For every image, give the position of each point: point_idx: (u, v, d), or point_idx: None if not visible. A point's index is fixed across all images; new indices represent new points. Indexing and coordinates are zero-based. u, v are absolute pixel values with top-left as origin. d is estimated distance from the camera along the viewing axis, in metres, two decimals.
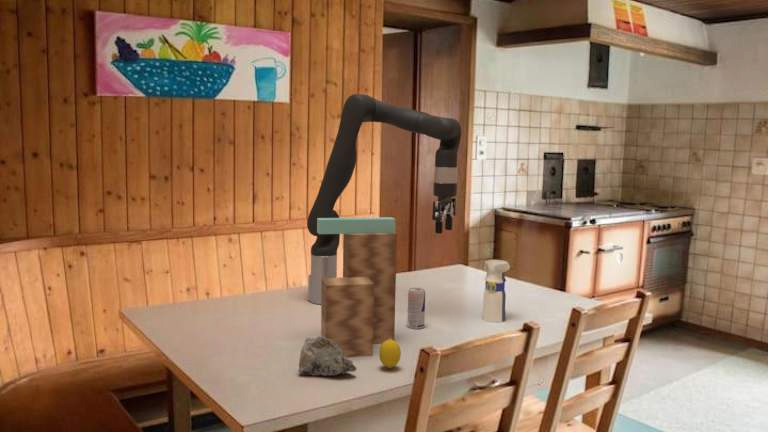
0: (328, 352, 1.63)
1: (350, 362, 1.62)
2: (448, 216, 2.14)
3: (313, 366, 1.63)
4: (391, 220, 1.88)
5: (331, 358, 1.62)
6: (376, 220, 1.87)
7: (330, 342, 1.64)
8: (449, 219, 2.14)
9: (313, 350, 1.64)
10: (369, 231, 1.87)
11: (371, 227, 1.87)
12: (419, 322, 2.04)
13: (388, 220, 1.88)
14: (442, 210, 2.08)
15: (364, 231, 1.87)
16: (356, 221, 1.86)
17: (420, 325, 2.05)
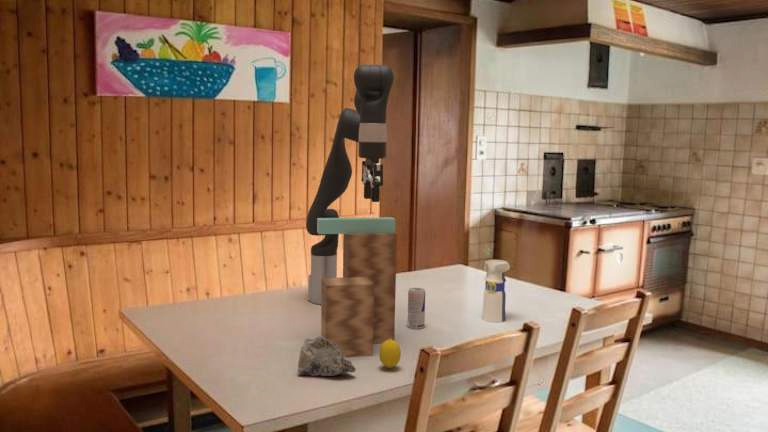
0: (327, 353, 1.63)
1: (349, 363, 1.62)
2: None
3: (312, 366, 1.63)
4: (391, 220, 1.88)
5: (330, 358, 1.62)
6: (376, 220, 1.87)
7: (329, 342, 1.64)
8: None
9: (313, 350, 1.63)
10: (369, 231, 1.87)
11: (371, 227, 1.87)
12: (419, 322, 2.04)
13: (388, 220, 1.88)
14: None
15: (364, 231, 1.87)
16: (356, 221, 1.86)
17: (420, 325, 2.05)
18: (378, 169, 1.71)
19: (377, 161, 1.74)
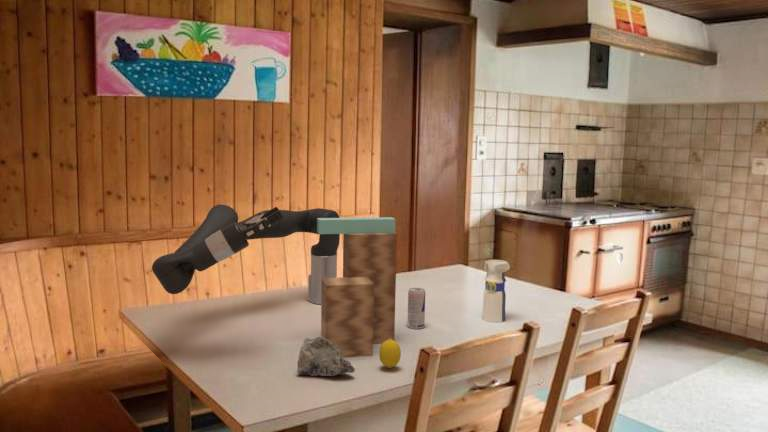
0: (326, 353, 1.63)
1: (348, 363, 1.61)
2: None
3: (311, 366, 1.63)
4: (391, 220, 1.88)
5: (329, 359, 1.62)
6: (376, 220, 1.87)
7: (329, 343, 1.63)
8: None
9: (312, 350, 1.63)
10: (369, 231, 1.87)
11: (371, 227, 1.87)
12: (419, 322, 2.04)
13: (388, 220, 1.88)
14: None
15: (364, 231, 1.87)
16: (356, 221, 1.86)
17: (420, 325, 2.05)
18: (252, 232, 1.69)
19: (244, 232, 1.72)
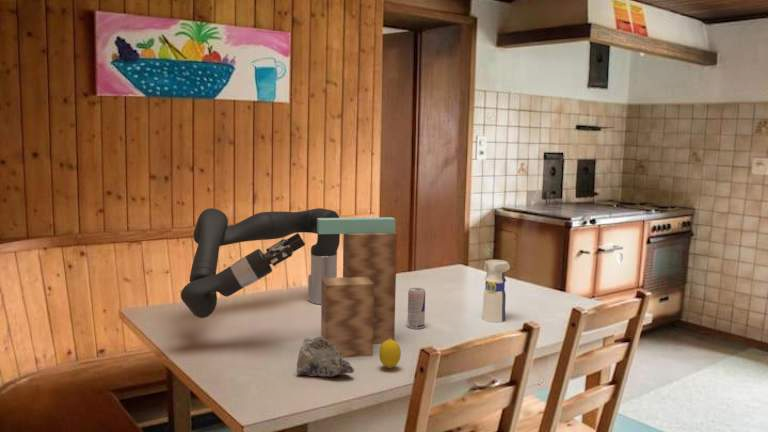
0: (325, 353, 1.62)
1: (347, 363, 1.61)
2: None
3: (311, 367, 1.63)
4: (391, 220, 1.88)
5: (329, 359, 1.62)
6: (376, 220, 1.87)
7: (328, 343, 1.63)
8: None
9: (311, 350, 1.63)
10: (369, 231, 1.87)
11: (371, 227, 1.87)
12: (419, 322, 2.04)
13: (388, 220, 1.88)
14: None
15: (364, 231, 1.87)
16: (356, 221, 1.86)
17: (420, 325, 2.05)
18: (276, 259, 1.77)
19: (268, 259, 1.80)
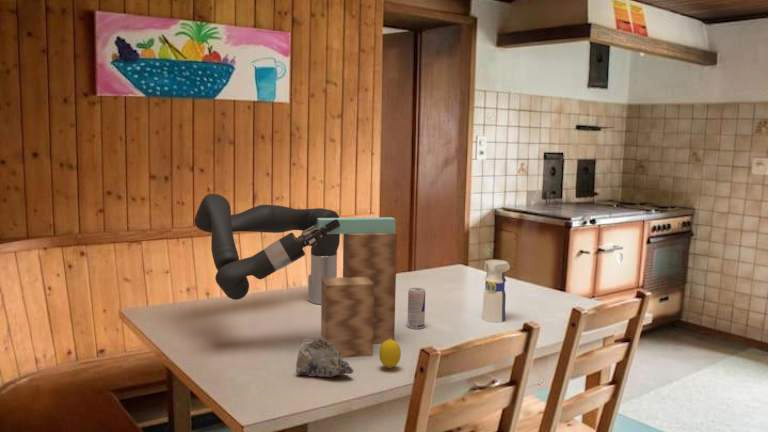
0: (325, 354, 1.62)
1: (346, 364, 1.61)
2: None
3: (310, 367, 1.63)
4: (391, 220, 1.88)
5: (328, 359, 1.61)
6: (376, 220, 1.87)
7: (327, 343, 1.63)
8: None
9: (310, 351, 1.63)
10: (369, 231, 1.87)
11: (371, 227, 1.87)
12: (419, 322, 2.04)
13: (388, 220, 1.88)
14: None
15: (364, 231, 1.87)
16: (356, 221, 1.86)
17: (420, 325, 2.05)
18: (314, 239, 1.79)
19: (302, 242, 1.81)
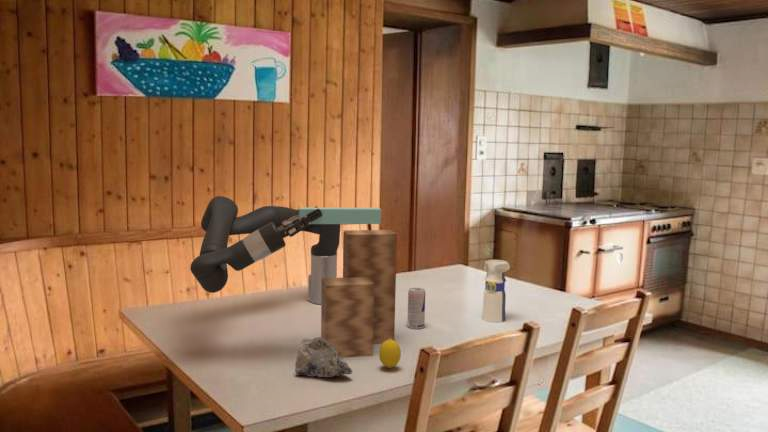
0: (324, 354, 1.62)
1: (345, 365, 1.60)
2: None
3: (309, 367, 1.62)
4: (377, 211, 1.79)
5: (327, 360, 1.61)
6: (361, 210, 1.78)
7: (326, 344, 1.63)
8: None
9: (310, 351, 1.63)
10: (353, 222, 1.78)
11: (355, 217, 1.78)
12: (419, 322, 2.04)
13: (373, 210, 1.79)
14: None
15: (348, 221, 1.78)
16: (339, 211, 1.77)
17: (420, 325, 2.05)
18: (294, 229, 1.71)
19: (281, 232, 1.73)
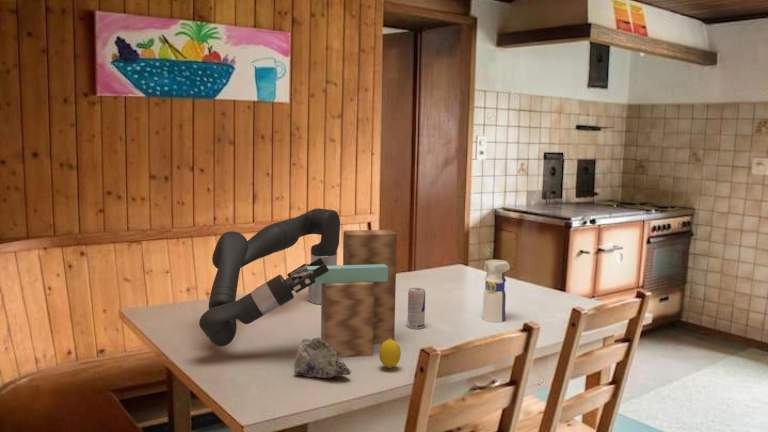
0: (322, 354, 1.62)
1: (344, 365, 1.60)
2: None
3: (308, 367, 1.62)
4: (384, 268, 1.80)
5: (325, 360, 1.61)
6: (368, 268, 1.79)
7: (325, 344, 1.62)
8: None
9: (309, 351, 1.63)
10: (360, 280, 1.79)
11: (362, 275, 1.79)
12: (419, 322, 2.04)
13: (380, 268, 1.80)
14: None
15: (355, 280, 1.79)
16: (347, 270, 1.78)
17: (420, 325, 2.05)
18: (299, 286, 1.70)
19: (290, 286, 1.73)
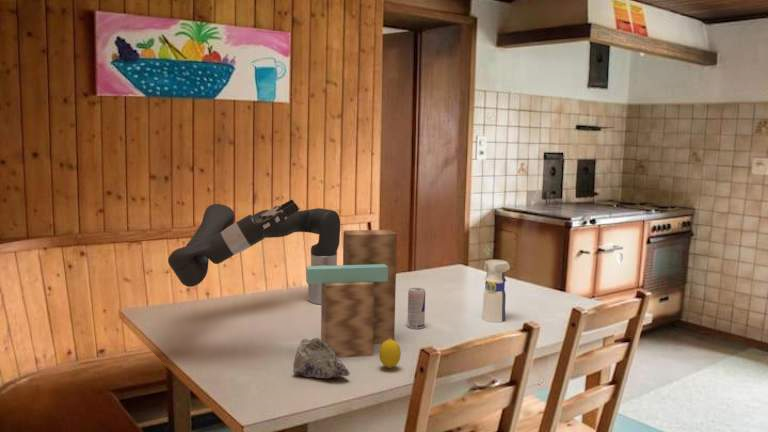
0: (321, 355, 1.61)
1: (342, 366, 1.59)
2: None
3: (306, 367, 1.62)
4: (384, 268, 1.80)
5: (324, 361, 1.61)
6: (368, 268, 1.79)
7: (324, 344, 1.62)
8: None
9: (308, 351, 1.62)
10: (360, 280, 1.79)
11: (362, 275, 1.79)
12: (419, 322, 2.04)
13: (380, 268, 1.80)
14: None
15: (355, 280, 1.79)
16: (347, 270, 1.78)
17: (420, 325, 2.05)
18: (268, 224, 1.69)
19: (260, 224, 1.72)
